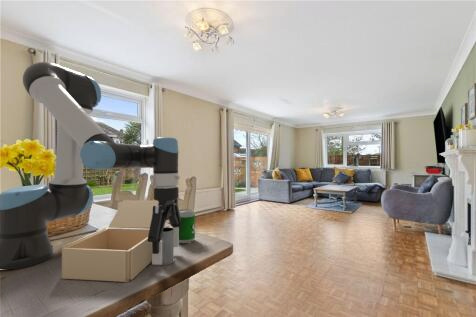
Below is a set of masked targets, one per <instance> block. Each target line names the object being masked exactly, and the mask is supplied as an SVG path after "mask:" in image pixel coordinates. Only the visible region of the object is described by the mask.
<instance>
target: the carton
mask: <svg viewBox="0 0 476 317" xmlns="http://www.w3.org/2000/svg"><path fill="white" fill-rule="evenodd" d="M149 230H150V229H144V228H111V227H108V228H106V227H104V228H102V229H100V230H97V231H94V232H93V233H90V234H88V235H86V236H84V237H81V238H79V239H77V240H75V241H72V242H70V243H67V244H65V245H63V246H61V279H63V280H64V279H65V280H66V279H68V280H84V281H85V280H86V281H105V282H106V281H107V282H121V283H122V282H124V283H125V282H127V283H128V282H130V281H132V280H133V279H135V277H137V276H139V274H140V273H141V272H142V271H143V270H144V269H145V268H146V267H147V266H148V265H149V264H150V263H152V242H148V241H147V240H148V235H149Z"/></svg>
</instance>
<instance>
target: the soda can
mask: <svg viewBox="0 0 476 317" xmlns="http://www.w3.org/2000/svg"><path fill="white" fill-rule="evenodd" d="M179 213H180V218H181V227H179V244H180V243H188V242H191V241H192V242H193V241H194V240H195V238H196V213H195V211H194V210H193V209H188V208H187V209H179ZM192 242H191V243H192ZM188 244H189V243H188Z"/></svg>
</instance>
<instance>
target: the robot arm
mask: <svg viewBox="0 0 476 317" xmlns="http://www.w3.org/2000/svg"><path fill="white" fill-rule="evenodd" d="M22 84H23V86H24V89H25V91H26V92H27V93H28V95H29V96H30V97H31V98H32V99H33V100H34V101H36V102H37V103H40V104H42V105H43V106H44V107H45V109H47V111H48V112H49V113H50V114H51V115H52V116H53V118H54V119H55V120H56V121H57V122H58V126H57V128H58V130H57V140H56V141H57V142H56V154H55V168H54V176H53V178H51V179H50V180H49V181H48V185H46V184H33V185H23V186H19V187H12V188H9V189H6V190H4V191H2V192H1V193H0V269H13V270H17V269H22V268H23V269H24V268H26V267H30V266H34V265H37V264H40V263H42V262H45V261H48V260H49V259H50V258H52V257H53V256H54V245H53V244H52V242H51V239H50V236H49V234H48V223H49V222H53V221H58V220H62V219H65V218H72V217H76V216H79V215H82V214H85V212H87V211H88V210H89V209H90V207H91V205H92V204H93V200H94V192H93V191H92V188H91V187H90V186H89V185H88V181H87V179H85V178H84V167H85V168H86V169H89V170H99V171H106V170H120V169H121V170H122V169H153V172H152V174H153V176H152V177H153V178H152V179H153V180H152V181H153V187H154V188H153V199H154V200H153V201H158V202H159V203H158V206H153V214H152V220H151V225H150V229H148V230H149V235H148V240H147V241H148V242H152V262H151V265H157V266H158V265H160V266H162V265H161V264H162V241H160V240H161V237H162V233H163V229H164V228H165V226H166V222H167V221H169V224H170V226H171V227H170V228H173V229H174V248H178V247H179V246H180V243H179V227H181V218H180V213H179V210H180V209H179V205H178V204H179V202H178V199H179V196H180V195H179V190H180V189H179V187H178V185H179V180H180V178H181V177H180V176H179V145H178V144H179V143H178V140H177V138H175V137H166V136H164V137H163V136H158V137H154V138H153V142H152V144H131V143H130V144H129V143H121V142H120V143H119V142H115V141H114V140H113V139H112V138H111V137H110V136H109V135H108V134H107V133H106V132H105V131H104V129H102V128H101V126H100V125H98V123H97V122H96V121H95V120H94V119H93V117H91V116H90V114H92V113H93V110H94V108H96V107H97V106H98V105H99V103H100V102H101V100H102V90H101V87H100V84H99V82H97V81H96V79H94V78H92V77H91V76H89V75H87V74H84V73H82V72H78V71H76V70H73V69H70V68H68V67H64V66H61V65H59V64H57V63H52V62H48V61H40V62H36V63H33V64H31V65H30V66H28V67H27V68H26V69H25V70H24V72H23V75H22Z"/></svg>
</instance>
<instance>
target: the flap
mask: <svg viewBox="0 0 476 317" xmlns="http://www.w3.org/2000/svg"><path fill="white" fill-rule="evenodd" d="M158 203H159V202H158V201H157V200H147V199H146V200H144V199H142V200H140V199H139V200H137V199H135V200H134V199H123V200H122V202H121V204H120V205H119V208H118V209H117V211H116V213H115V214H114V216H113V218H112V220H110V223H109V224H108V228H110V229H144V230H150V225H151V220H152V214H153V206H158Z"/></svg>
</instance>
